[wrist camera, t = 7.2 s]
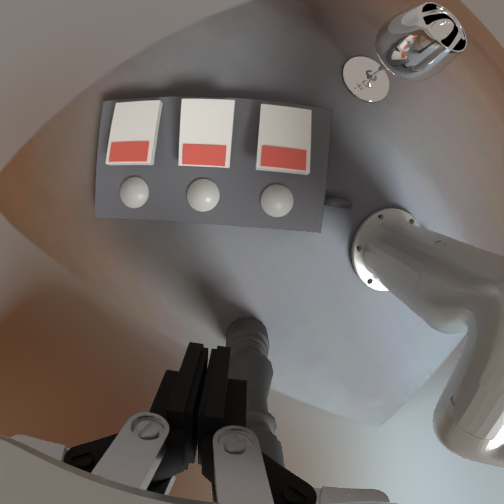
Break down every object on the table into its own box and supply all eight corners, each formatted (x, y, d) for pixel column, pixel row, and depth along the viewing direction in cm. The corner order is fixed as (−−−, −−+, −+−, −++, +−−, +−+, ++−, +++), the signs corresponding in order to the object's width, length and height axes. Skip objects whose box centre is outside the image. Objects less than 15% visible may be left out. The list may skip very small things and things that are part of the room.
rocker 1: (162, 103, 31) (159, 99, 30) (153, 165, 32) (150, 163, 31) (119, 106, 31) (115, 102, 29) (109, 165, 32) (104, 163, 30)
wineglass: (351, 106, 35) (432, 61, 16) (334, 58, 33) (395, -13, 14) (395, 100, 35) (485, 66, 16) (379, 55, 33) (454, -1, 14)
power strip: (356, 120, 36) (365, 116, 33) (346, 231, 40) (354, 236, 36) (112, 105, 34) (102, 100, 31) (104, 214, 38) (94, 218, 35)
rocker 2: (235, 100, 30) (234, 100, 29) (230, 166, 34) (229, 168, 32) (183, 99, 30) (181, 98, 29) (180, 163, 33) (178, 165, 32)
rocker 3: (309, 113, 32) (311, 109, 31) (307, 175, 33) (310, 172, 31) (260, 107, 32) (261, 103, 31) (255, 169, 32) (256, 166, 31)
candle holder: (219, 326, 43) (201, 465, 19) (258, 311, 42) (273, 450, 18) (237, 356, 44) (235, 494, 20) (273, 343, 44) (297, 480, 20)
